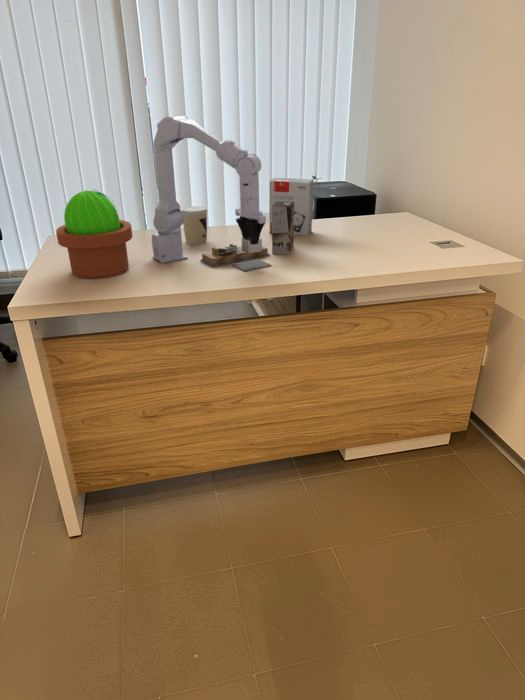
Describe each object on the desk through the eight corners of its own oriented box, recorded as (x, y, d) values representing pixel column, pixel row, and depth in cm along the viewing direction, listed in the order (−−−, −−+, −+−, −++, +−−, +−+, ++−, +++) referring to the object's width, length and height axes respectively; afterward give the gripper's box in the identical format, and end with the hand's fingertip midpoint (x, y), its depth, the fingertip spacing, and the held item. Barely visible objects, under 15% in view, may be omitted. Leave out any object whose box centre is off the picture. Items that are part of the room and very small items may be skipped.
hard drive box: (268, 233, 202) (268, 180, 193) (274, 229, 208) (274, 177, 199) (308, 236, 197) (309, 181, 188) (312, 231, 204) (313, 178, 195)
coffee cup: (207, 244, 189) (205, 211, 183) (181, 245, 189) (178, 211, 184) (210, 238, 197) (208, 206, 192) (185, 238, 197) (183, 206, 192)
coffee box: (290, 254, 176) (290, 206, 168) (271, 254, 177) (271, 205, 170) (294, 247, 184) (294, 201, 176) (276, 246, 185) (276, 200, 178)
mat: (244, 271, 160) (244, 270, 160) (231, 265, 166) (231, 264, 166) (271, 265, 165) (271, 264, 165) (257, 259, 171) (257, 258, 171)
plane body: (212, 267, 165) (211, 252, 163) (200, 261, 171) (199, 247, 169) (269, 255, 175) (269, 241, 173) (256, 250, 181) (256, 236, 179)
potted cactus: (62, 285, 152) (45, 197, 141) (66, 263, 171) (50, 184, 159) (139, 277, 157) (128, 192, 146) (134, 257, 176) (124, 180, 165)
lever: (217, 253, 169) (224, 253, 165) (216, 248, 169) (223, 248, 164) (230, 251, 172) (238, 251, 167) (229, 246, 171) (237, 246, 167)
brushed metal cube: (248, 253, 161) (248, 240, 159) (241, 250, 164) (241, 237, 162) (262, 251, 163) (262, 238, 162) (255, 248, 166) (255, 235, 165)
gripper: (274, 199, 153) (274, 245, 159) (248, 192, 163) (249, 235, 170) (253, 202, 149) (255, 249, 155) (228, 195, 160) (230, 239, 166)
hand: (250, 242), depth 162 cm, fingers closed on brushed metal cube, 4 cm apart
